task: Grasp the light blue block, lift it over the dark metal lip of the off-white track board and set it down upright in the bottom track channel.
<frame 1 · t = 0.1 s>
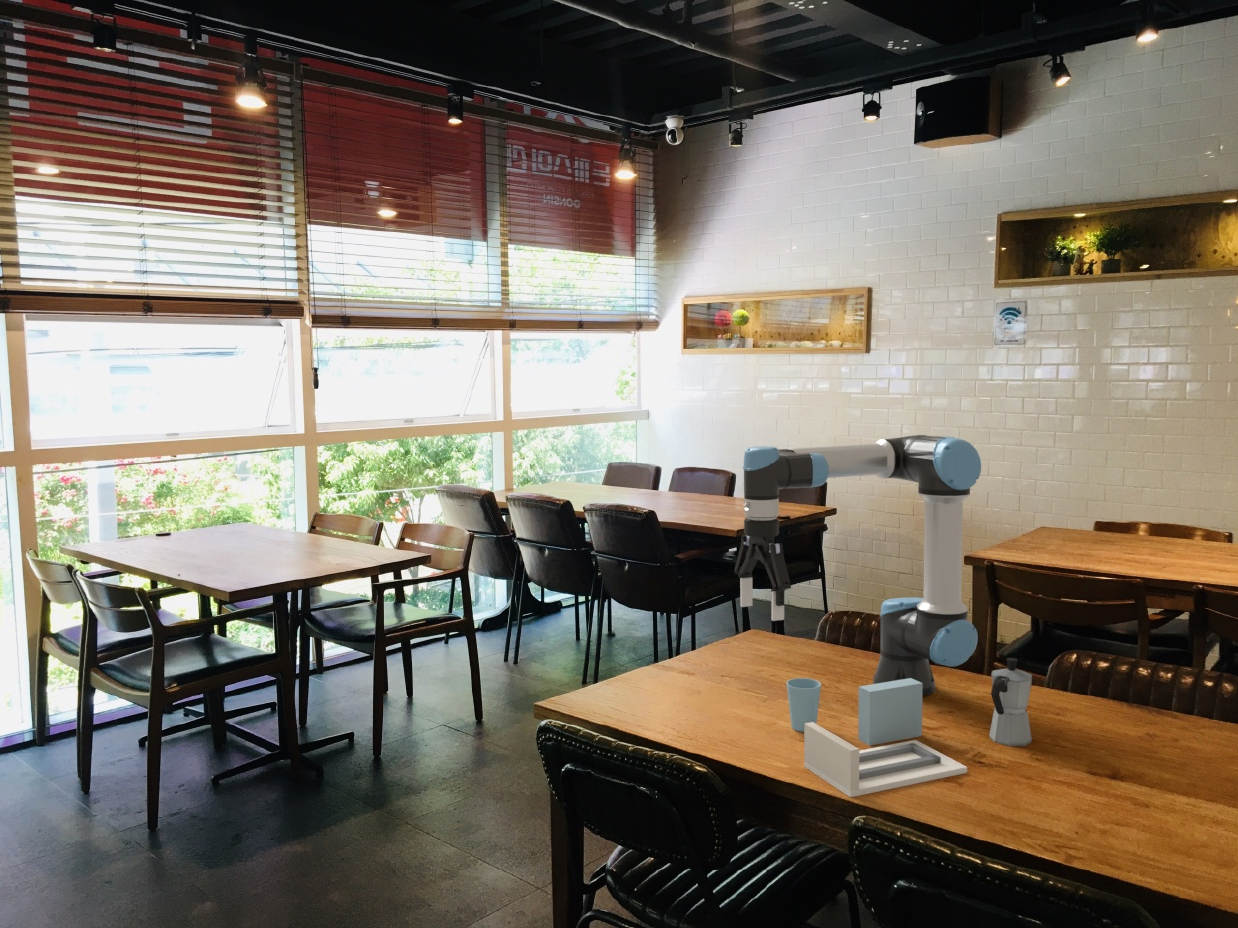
hand: (761, 612, 219), 28 cm above the table, fingers open, 13 cm apart
track: (884, 769, 202), on the table
coffee maker: (1007, 741, 217), on the table
cup: (803, 728, 226), on the table
light blue block: (890, 737, 220), on the table
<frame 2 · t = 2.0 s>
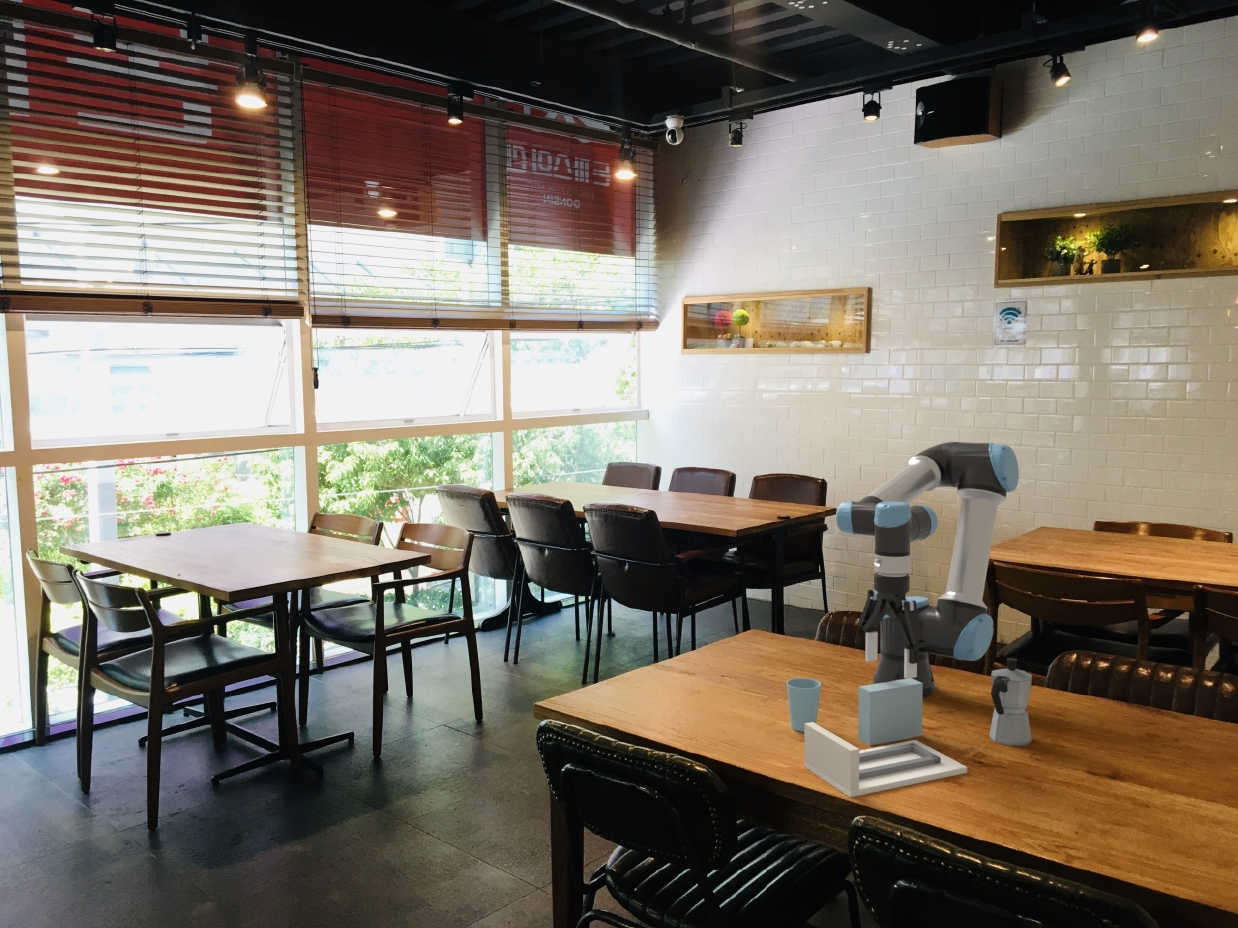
hand: (890, 668, 218), 16 cm above the table, fingers open, 13 cm apart
nothing on the table moved.
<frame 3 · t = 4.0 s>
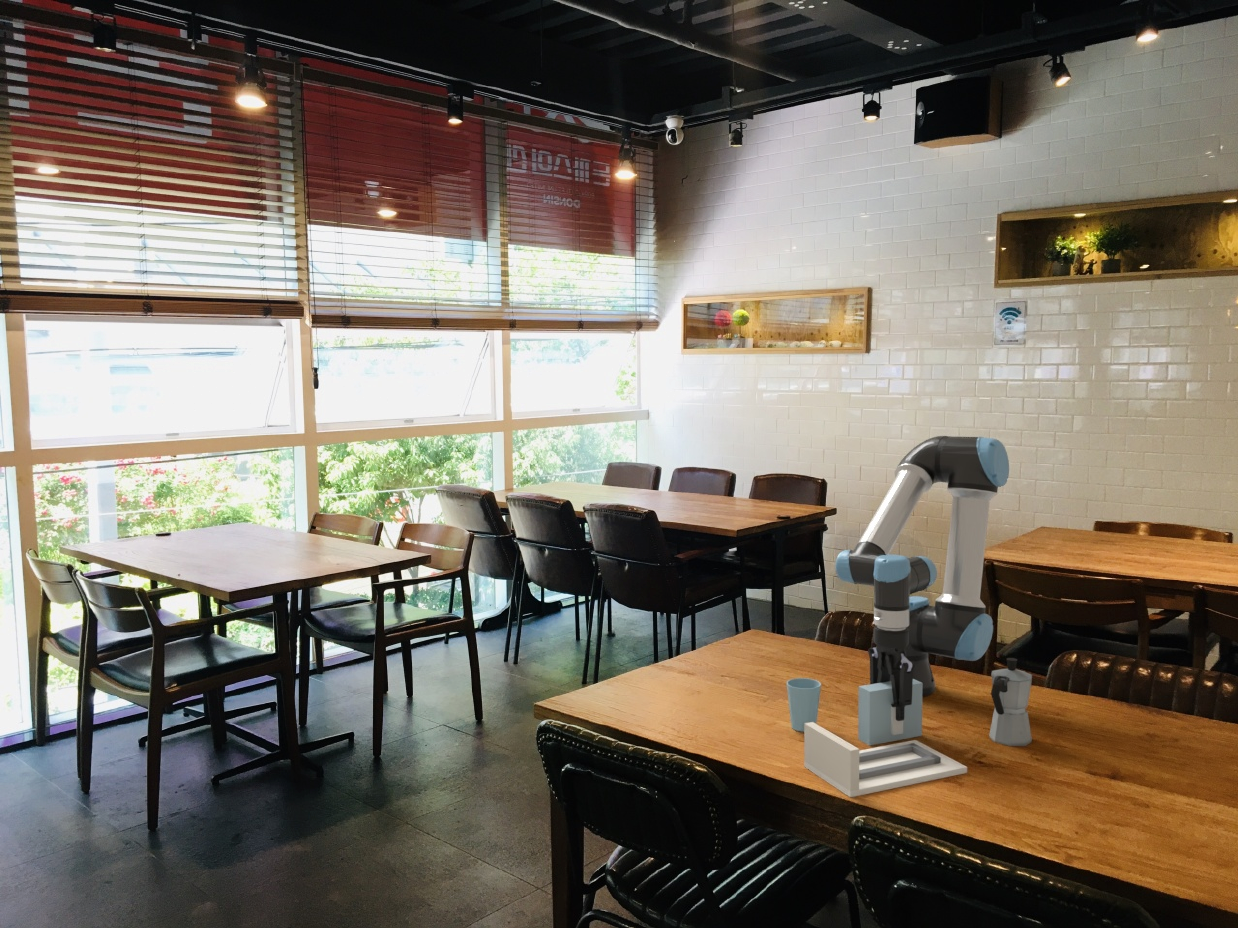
hand: (890, 729, 219), 2 cm above the table, fingers closed on light blue block, 4 cm apart
light blue block: (890, 737, 220), on the table, touching gripper
everything else where it was.
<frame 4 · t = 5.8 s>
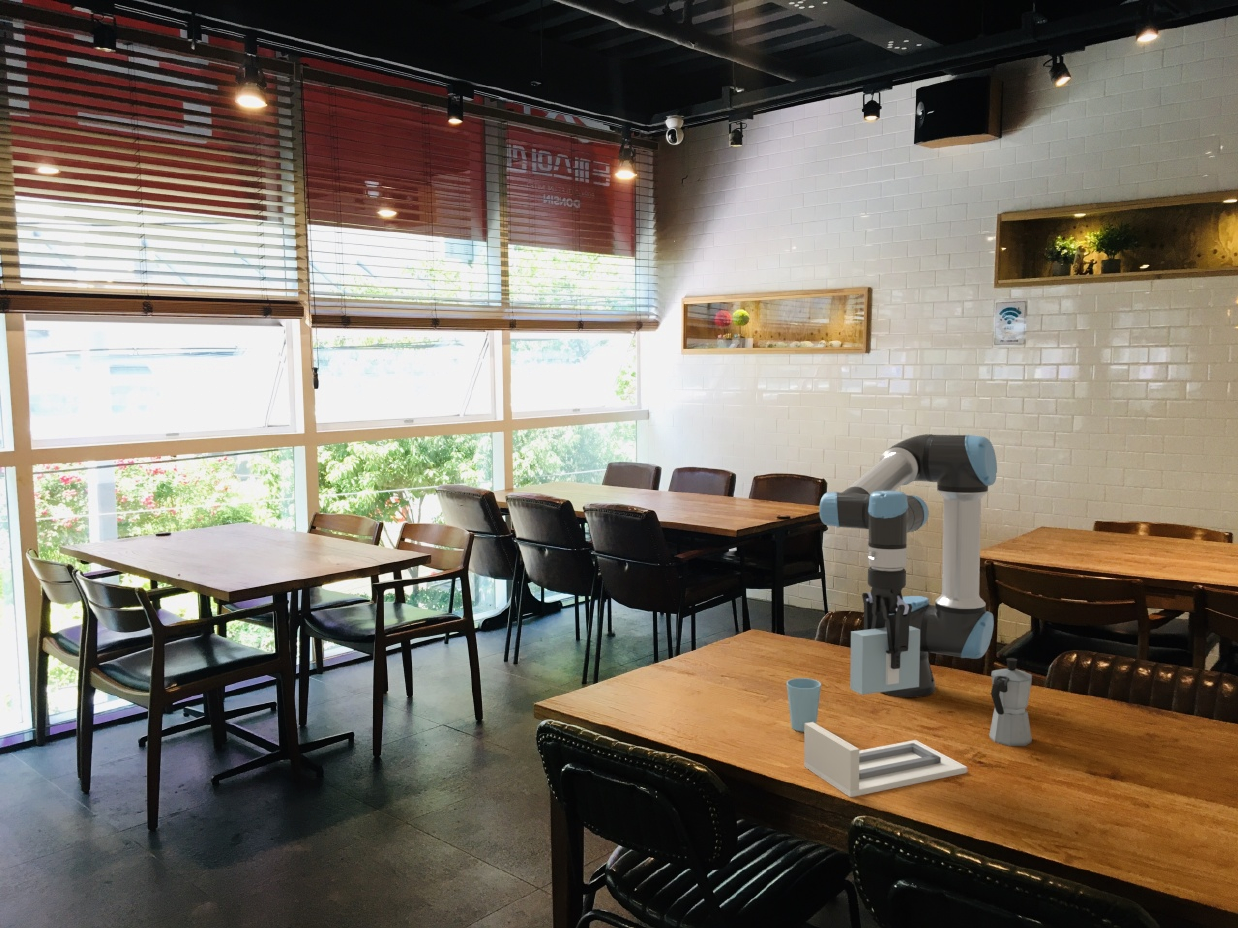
hand: (885, 679, 204), 18 cm above the table, fingers closed on light blue block, 4 cm apart
light blue block: (884, 687, 204), point 16 cm above the table, touching gripper
everything else where it was.
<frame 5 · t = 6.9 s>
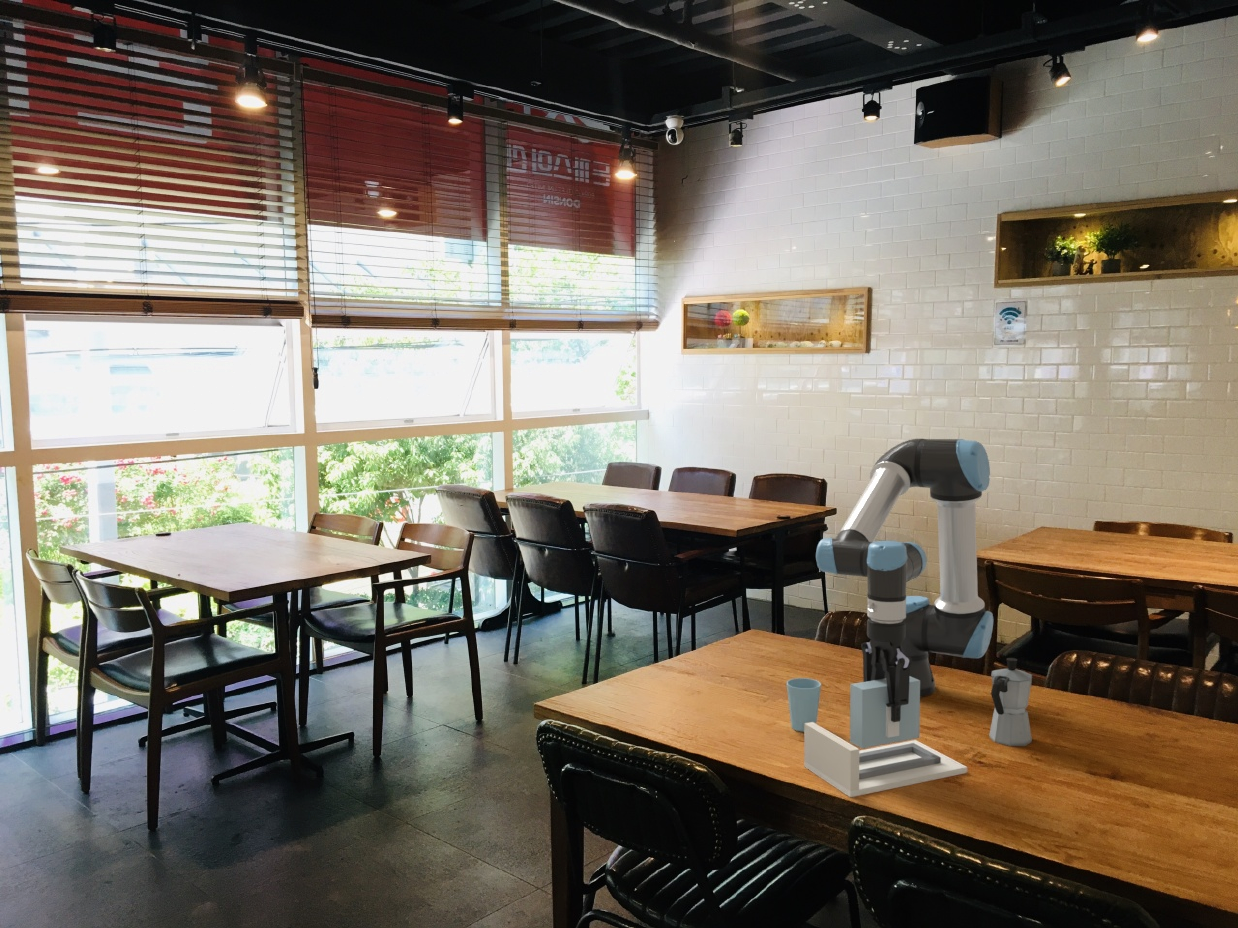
hand: (885, 731, 201), 8 cm above the table, fingers closed on light blue block, 4 cm apart
light blue block: (884, 739, 202), point 6 cm above the table, touching gripper
everything else where it was.
when the fingers open (4 cm above the table, at t = 7.9 s): light blue block drops 1 cm, resting on track.
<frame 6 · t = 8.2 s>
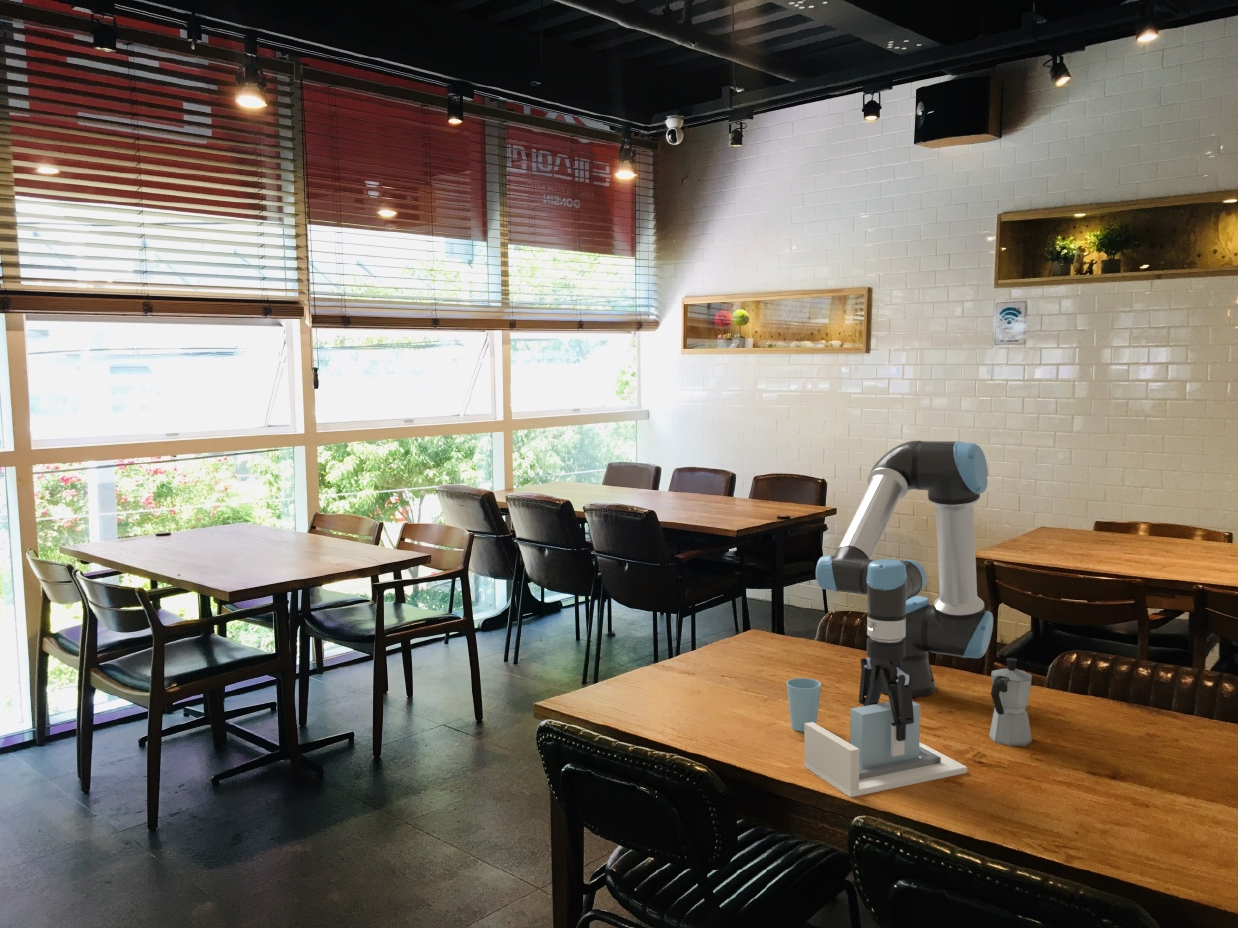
hand: (885, 747, 202), 5 cm above the table, fingers open, 7 cm apart
light blue block: (884, 763, 202), point 1 cm above the table, touching track
everything else where it was.
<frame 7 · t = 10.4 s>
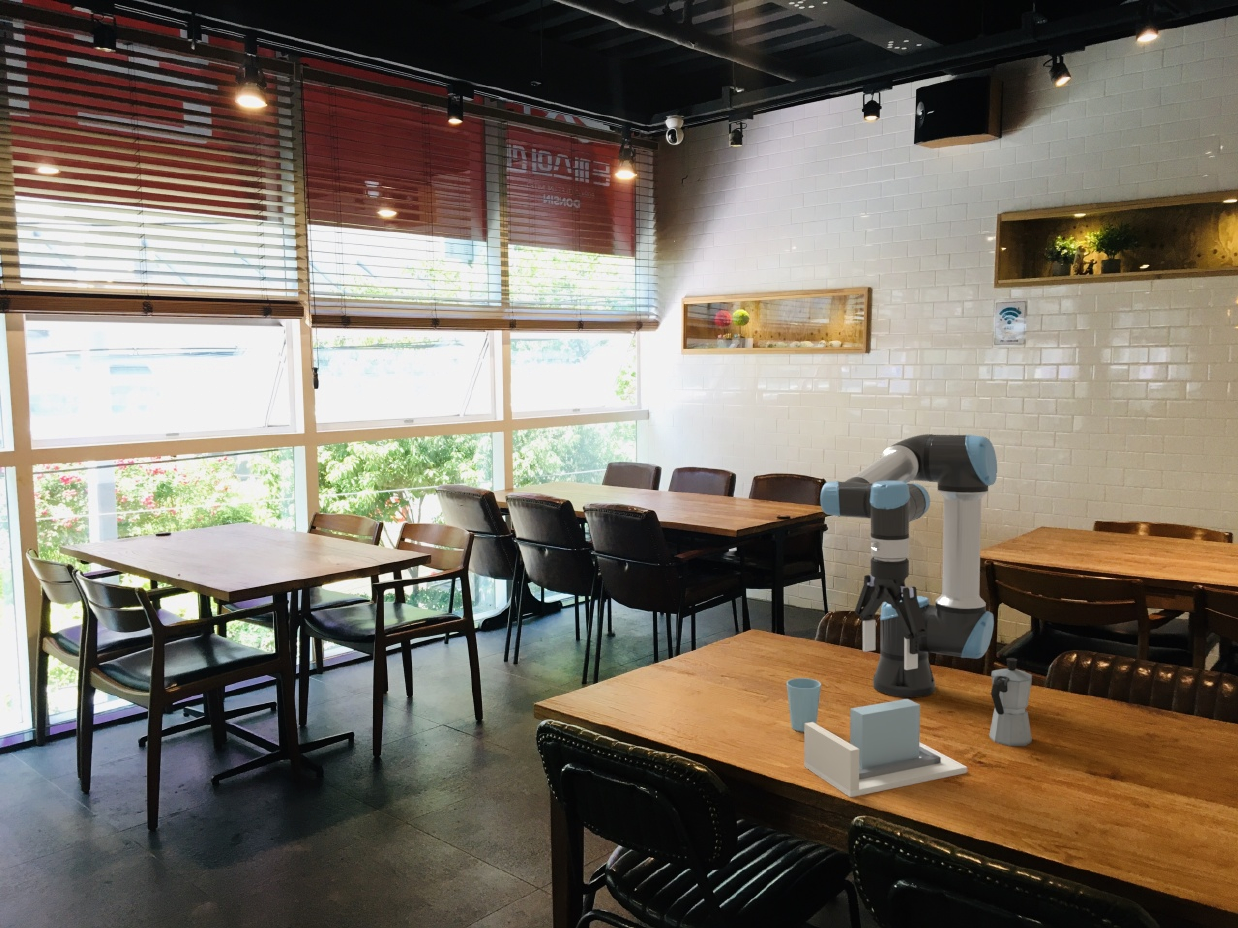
hand: (889, 659, 204), 22 cm above the table, fingers open, 13 cm apart
nothing on the table moved.
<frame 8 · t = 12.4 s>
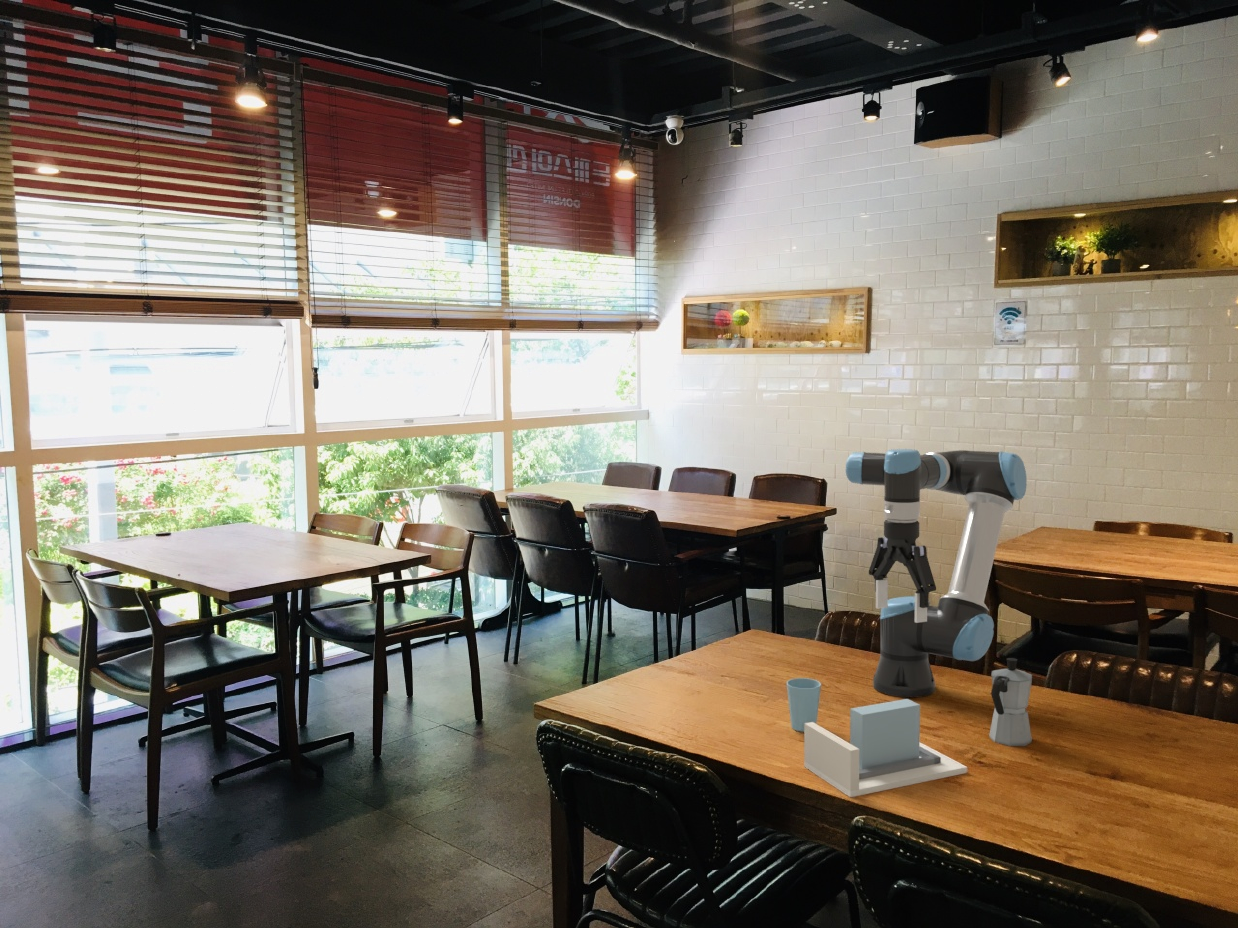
hand: (900, 614, 220), 27 cm above the table, fingers open, 13 cm apart
nothing on the table moved.
at the end: light blue block inside the target area on the track (0.0 cm from its centre), point 1.2 cm above the track's base; light blue block tilted 0°; the gripper is holding nothing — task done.
